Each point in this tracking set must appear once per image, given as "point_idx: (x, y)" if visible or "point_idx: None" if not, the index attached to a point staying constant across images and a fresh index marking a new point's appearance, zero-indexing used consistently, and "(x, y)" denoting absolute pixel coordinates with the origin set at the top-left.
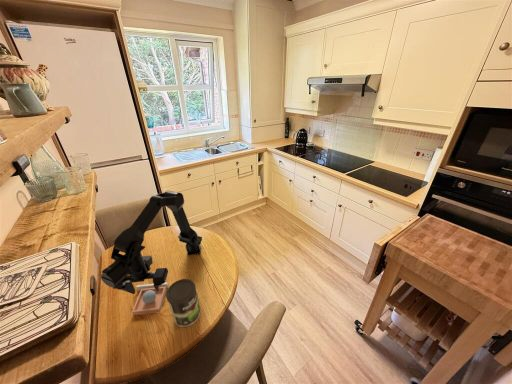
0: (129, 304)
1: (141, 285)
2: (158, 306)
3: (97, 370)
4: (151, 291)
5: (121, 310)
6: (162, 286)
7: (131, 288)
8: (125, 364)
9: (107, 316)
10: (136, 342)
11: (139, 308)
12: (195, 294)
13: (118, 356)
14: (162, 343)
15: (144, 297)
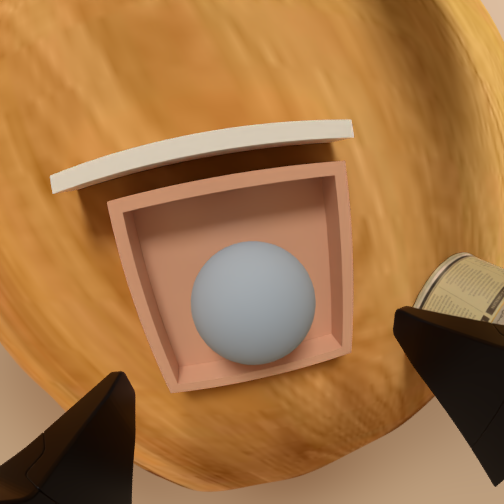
0: (93, 306)
1: (90, 168)
2: (343, 339)
3: (189, 486)
4: (291, 298)
5: (79, 343)
6: (295, 142)
7: (108, 474)
8: (267, 474)
9: (45, 368)
10: (271, 443)
11: (190, 342)
12: None
13: (229, 470)
14: (369, 419)
15: (241, 361)
